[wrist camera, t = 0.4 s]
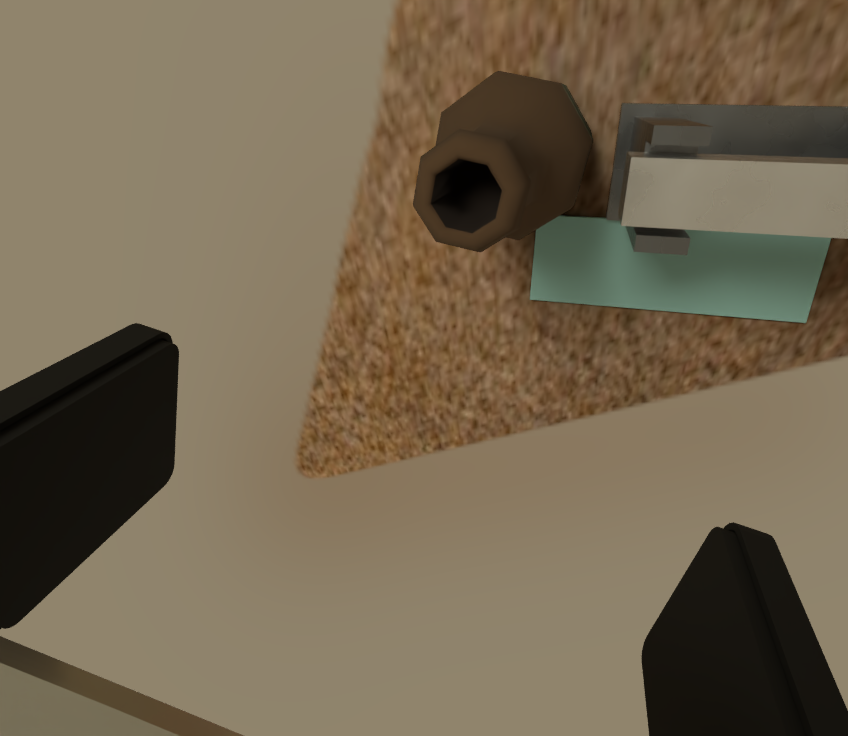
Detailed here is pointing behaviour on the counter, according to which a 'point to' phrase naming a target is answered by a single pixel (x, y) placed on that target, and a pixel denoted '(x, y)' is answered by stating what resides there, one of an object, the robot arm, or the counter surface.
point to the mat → (678, 271)
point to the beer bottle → (502, 162)
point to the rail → (736, 193)
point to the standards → (719, 145)
